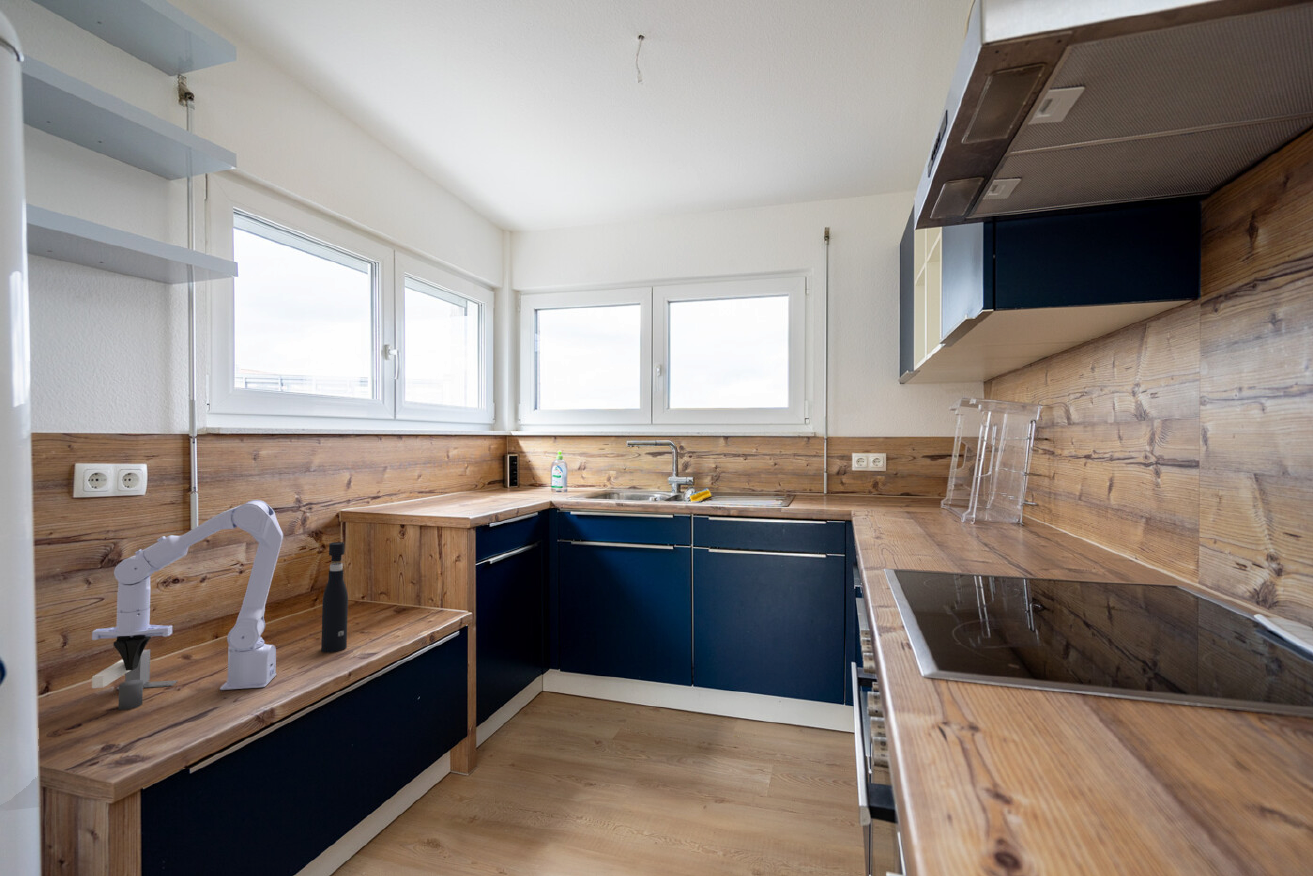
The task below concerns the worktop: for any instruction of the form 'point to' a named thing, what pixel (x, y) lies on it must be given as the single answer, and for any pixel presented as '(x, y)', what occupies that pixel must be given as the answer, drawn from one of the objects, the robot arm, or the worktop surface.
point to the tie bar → (124, 672)
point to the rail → (158, 684)
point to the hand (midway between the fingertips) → (131, 668)
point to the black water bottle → (335, 604)
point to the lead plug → (130, 694)
